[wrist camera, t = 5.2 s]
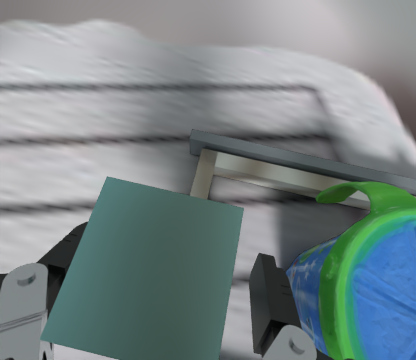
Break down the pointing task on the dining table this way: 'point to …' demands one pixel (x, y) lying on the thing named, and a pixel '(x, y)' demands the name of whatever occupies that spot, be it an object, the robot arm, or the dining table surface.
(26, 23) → the dining table surface
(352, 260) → the snack cup
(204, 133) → the rectangular frame
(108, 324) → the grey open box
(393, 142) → the dining table surface
